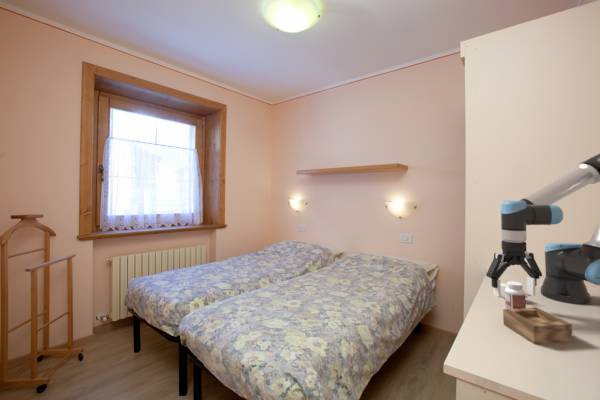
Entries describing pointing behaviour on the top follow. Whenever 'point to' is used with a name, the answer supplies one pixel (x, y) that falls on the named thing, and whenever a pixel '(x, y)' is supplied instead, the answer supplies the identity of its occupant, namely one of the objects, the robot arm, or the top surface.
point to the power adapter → (504, 286)
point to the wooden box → (537, 325)
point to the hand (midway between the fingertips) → (514, 295)
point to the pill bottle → (515, 295)
